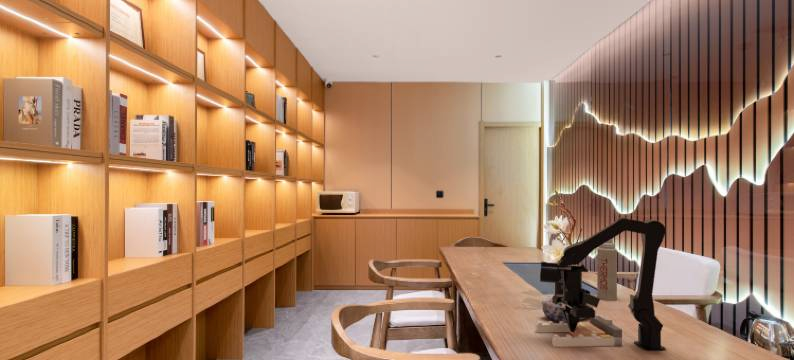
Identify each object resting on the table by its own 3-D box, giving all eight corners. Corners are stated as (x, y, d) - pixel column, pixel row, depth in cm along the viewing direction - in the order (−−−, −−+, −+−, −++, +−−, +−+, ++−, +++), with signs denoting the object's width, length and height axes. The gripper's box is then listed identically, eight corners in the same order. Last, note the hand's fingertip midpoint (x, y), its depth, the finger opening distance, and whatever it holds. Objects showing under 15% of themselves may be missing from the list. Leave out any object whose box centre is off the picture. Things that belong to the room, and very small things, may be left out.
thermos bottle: (608, 301, 192) (608, 237, 192) (593, 297, 199) (593, 235, 200) (621, 299, 195) (620, 236, 196) (605, 295, 202) (605, 234, 203)
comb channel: (622, 345, 138) (622, 324, 138) (554, 346, 136) (554, 325, 136) (596, 329, 153) (596, 311, 153) (535, 331, 151) (535, 312, 151)
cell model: (598, 289, 167) (567, 298, 155) (598, 317, 167) (568, 328, 155) (567, 283, 178) (536, 291, 166) (567, 309, 178) (537, 319, 166)
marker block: (605, 343, 140) (605, 332, 140) (584, 344, 139) (584, 332, 139) (589, 333, 150) (589, 322, 150) (569, 333, 149) (569, 323, 149)
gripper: (611, 290, 136) (611, 341, 136) (582, 278, 155) (582, 322, 154) (577, 291, 135) (577, 341, 135) (551, 278, 154) (551, 323, 153)
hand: (572, 331), depth 144 cm, fingers closed
